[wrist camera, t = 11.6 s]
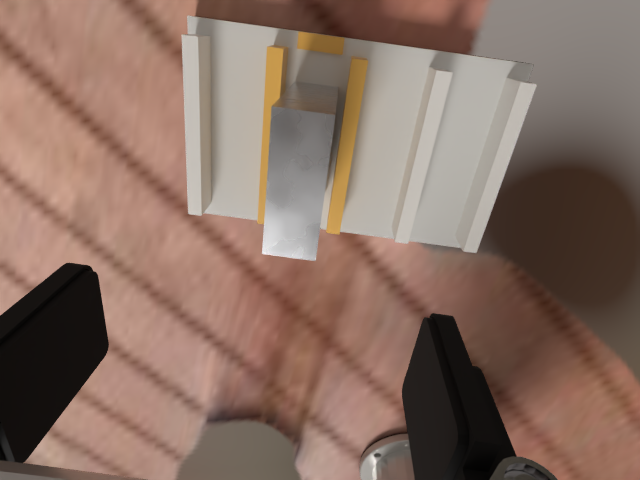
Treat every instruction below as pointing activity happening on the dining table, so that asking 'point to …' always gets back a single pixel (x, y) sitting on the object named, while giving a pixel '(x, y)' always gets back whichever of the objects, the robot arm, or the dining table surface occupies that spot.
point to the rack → (355, 128)
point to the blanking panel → (298, 169)
